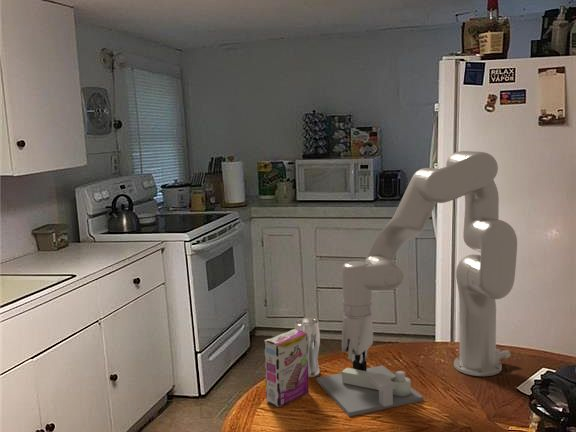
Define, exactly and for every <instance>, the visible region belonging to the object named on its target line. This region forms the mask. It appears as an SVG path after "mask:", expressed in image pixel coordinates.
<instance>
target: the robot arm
mask: <svg viewBox="0 0 576 432" xmlns="http://www.w3.org/2000/svg"><path fill="white" fill-rule="evenodd" d="M498 170H499V165H498V162H497V160H496V158H495V157H494V156H493V155H492V154H490V153H488V152H485V151H470V150H460V151H456V152H453V153H452V154H450V156H449V157H448V158H447V161H446V164H445V166H444V167H440V168H436V167H434V168H433V167H424V168H419V170H417V171H415V173H414V174H413V175H412V177H411V179H410V181H409V183H408V185H407V187H406V189H405V190H404V193H403V196H402V198H401V199H400V201H399V204H398V206H397V208H396V211H395V212H394V215H393V216H392V217H391V219H390V221H388V222H387V224H386V225H385V226H384V227H383V228H382V230H381V231H380V232H379V233H378V235H377V236H376V237H375V239H374V241H373V243H372V245H371V247H370V249H369V250H368V253H367V255H366V258H365V260H364V261H360V260H357V261H355V260H353V261H348V262H346V263H344V264H343V265H342V267H341V279H342V280H341V281H342V282H341V283H342V307H343V308H342V309H343V311H342V313H343V319H342V325H341V326H342V329H341V351H342V353H343V354H346V353H347V352H348V353H347V355H348V356H347V360H349V361H351V362H352V369H357V370H362V371H367V360H368V359H367V358H368V350H369V349H370V347H371V346H372V345H373V344H374V325H373V318H372V316H373V301H372V300H373V297H372V296H373V295H372V291H393V290H396V289H397V288H400V286H401V285H402V283H403V282H404V279H405V278H404V277H405V275H404V271H403V269H402V268H401V266H399V265H398V264H397V263H396V262H393V261H394V260H395V257H396V255H397V254H398V251H400V249H401V247H402V246H403V245H404V244H405V243H406V242H408V241H409V240H411V239H413V238H416V237H418V236H419V235H420V234H422V233H423V231H424V230H425V228H426V225H427V224H428V221H429V218H431V215H432V212H433V211H434V209H435V207H436V205H437V204H444V203H447V202H451V201H454V200H456V199H460V198H461V197H463V196H464V223H463V232H462V233H463V235H462V236H463V238H462V239H463V241H464V243H465V245H466V246H467V247H469V248H470V249H472V250H474V251H476V252H479V253H480V254H468V255H466V256H464V257H463V258H461V260H460V261H459V262H458V264H457V266H456V272H455V278H456V284H457V289H458V298H459V299H458V300H459V302H458V303H459V319H458V320H459V323H458V324H459V330H458V331H459V356H458V357H456V358H455V359H454V360H453V367H454V368H455V369H456V371H458V372H460V373H463V374H464V375H469V376H475V377H489V376H490V377H491V376H495V375H497V374H500V373H501V371H502V369H503V367H502V363H501V362H500V361H501V360H502V359H507V358H510V357H511V352H510V350H508V349H507V350H500V349H499V348H497V301H496V300H501V299H504V298H505V297H507V296H508V295H509V294H510V292H511V291H512V289H513V287H514V283H515V277H516V268H517V267H516V266H517V255H518V254H517V253H518V238H517V234H516V232H515V229H514V228H513V227H512V226H511V225H510V223H508V222H506V221H505V220H502V219H499V216H500V215H499V211H500V210H499V209H500V208H499V205H500V203H499V201H500V199H499V191H498V187H497V184H496V182H495V178H496V177H497V174H498Z"/></svg>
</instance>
